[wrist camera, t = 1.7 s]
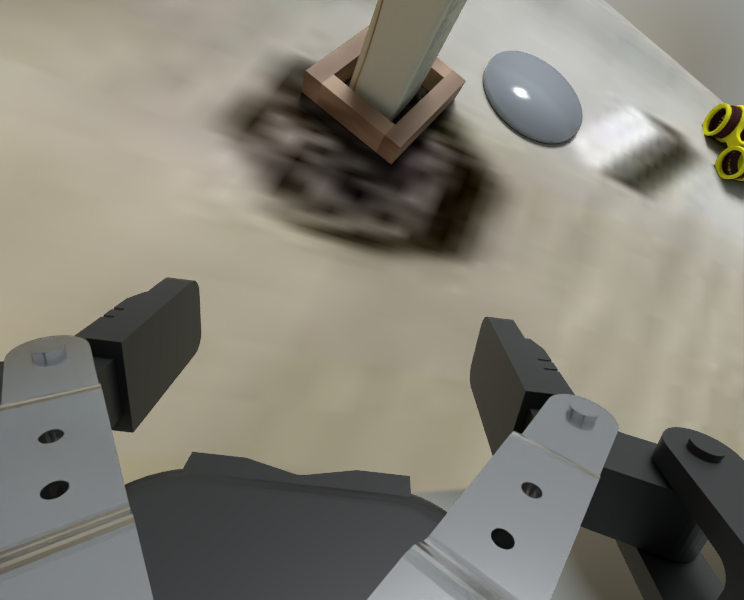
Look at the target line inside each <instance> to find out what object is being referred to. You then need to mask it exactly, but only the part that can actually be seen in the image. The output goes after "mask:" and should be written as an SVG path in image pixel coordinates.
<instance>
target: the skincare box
mask: <svg viewBox="0 0 744 600" xmlns="http://www.w3.org/2000/svg"><path fill="white" fill-rule="evenodd" d="M466 1H467V0H378V2H377V5H376V8H375V11H374V14H373V17H372V20H371V23H370V26H369V29H368V31H367V34H366V37H365V40H364V43H363V46H362V49H361V52H360V55H359V58H358V61H357V63H356V67H355V70H354V73H353V76H352V78H351V81H350V84H349V87H350V88H351V89H352V90H353V91H354V92H356V93H357V94H358V95H359V96H361V97H362V98H363V99H364V100H365V101H367V102H368V103H369V104H370V105H372V106H373V107H374V108H375V109H376V110H378V111H379V112H380V113H381V114H383V115H384V116H385V117H386V118H387V119H389V120H390V121H391V122H392V121H393V120H394V119H395V118H396V117H397V116H398V115H399V114H400V112H401V111H402V110H403V109H404V108H405V107H406V106H407V104H408V103H409V102H410V101H411V100H412V99H413V97H414V96H415V95H416V93H417V92H418V91H419V89H420V88H421V86H422V84H423V82H424V80H425V78H426V76H427V74H428V72H429V71H430V69H431V67H432V65H433V63H434V61H435V59H436V57H437V56H438V54H439V52H440V50H441V48H442V46H443V44H444V42H445V40H446V39H447V37H448V35H449V33H450V31H451V29H452V27H453V25H454V23H455V22H456V20H457V18H458V16H459V14H460V12H461V10H462V8H463V6H464V5H465V3H466Z"/></svg>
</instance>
